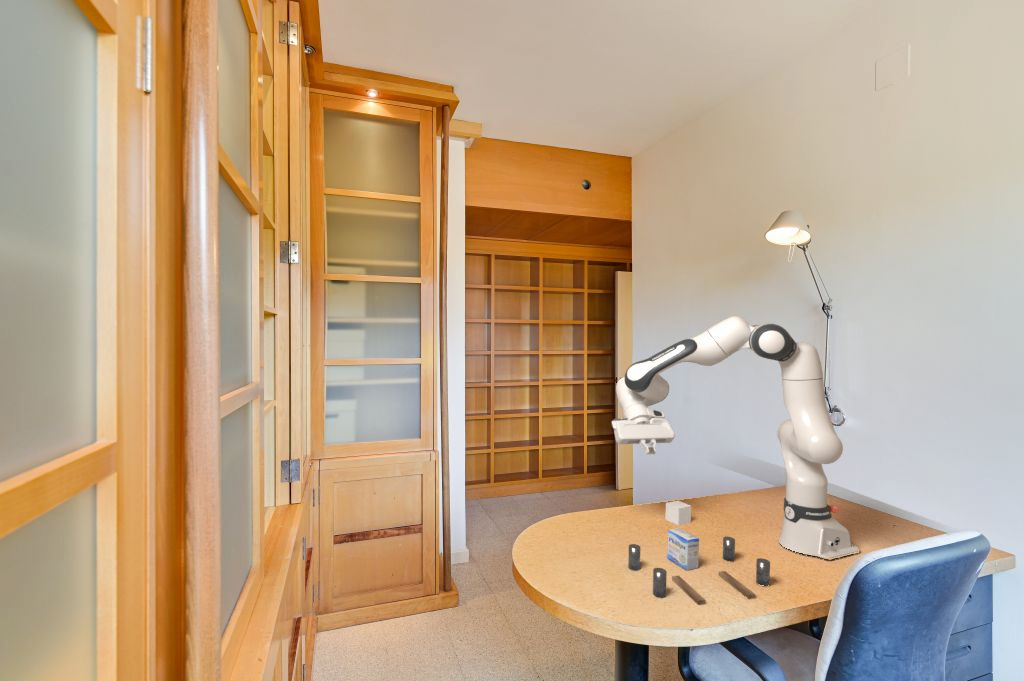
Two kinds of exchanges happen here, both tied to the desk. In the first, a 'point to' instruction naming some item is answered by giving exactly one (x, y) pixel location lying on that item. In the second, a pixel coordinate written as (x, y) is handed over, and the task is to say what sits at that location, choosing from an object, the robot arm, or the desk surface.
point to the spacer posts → (728, 555)
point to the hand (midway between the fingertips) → (651, 453)
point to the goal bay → (723, 575)
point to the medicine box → (683, 549)
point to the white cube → (678, 512)
